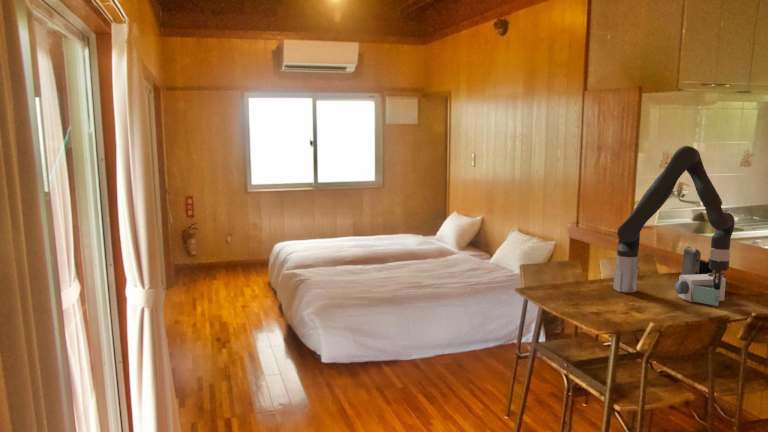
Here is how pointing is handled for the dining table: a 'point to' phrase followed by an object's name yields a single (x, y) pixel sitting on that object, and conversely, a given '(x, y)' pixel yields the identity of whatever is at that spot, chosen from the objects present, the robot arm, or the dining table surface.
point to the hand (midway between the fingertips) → (716, 297)
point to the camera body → (702, 280)
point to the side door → (705, 295)
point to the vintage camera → (694, 263)
